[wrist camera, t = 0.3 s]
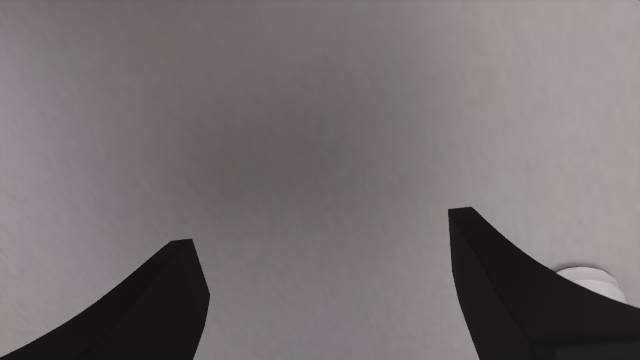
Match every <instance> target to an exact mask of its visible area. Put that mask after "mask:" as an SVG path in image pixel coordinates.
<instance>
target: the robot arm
mask: <svg viewBox="0 0 640 360" xmlns="http://www.w3.org/2000/svg"><path fill="white" fill-rule="evenodd" d="M448 217H449V232H450V247H451V261H452V273H453V277H454V282H455V287H456V291H457V295H458V300H459V304H460V306H461V309H462V312H463V315H464V318H465V321H466V323H467V326H468V329H469V332H470V334H471V337H472V340H473V343H474V346H475V348H476V351H477V354H478V357H479V359H480V360H640V308H637V307H634V306H631V305H628V304H625V303H622V302H620V301H617V300H614V299H611V298H609V297H606V296H604V295H601V294H599V293H596V292H594V291H592V290H589V289H587V288H585V287H583V286H581V285H579V284H576V283H574V282H572V281H570V280H568V279H566V278H565V277H563V276H561V275H559V274H557V273H556V272H554V271H552V270H550V269H549V268H547V267H545V266H544V265H542V264H540V263H539V262H537V261H536V260H534V259H533V258H531V257H530V256H529V255H527V254H526V253H524V252H523V251H522V250H520V249H519V248H518V247H516V246H515V245H514V244H513V243H511V242H510V241H509V240H508V239H507V238H505V237H504V236H503V235H502V234H501V233H499V232H498V231H497V230H496V229H495V228H494V227H493V226H492V225H491V224H489V223H488V222H487V221H486V220H485V219H484V218H483V217H482V216H481V215H480V214H479V213H478V212H477V211H476V210H475V209H473V208H472V207H463V208H455V209H448ZM209 300H210V293H209V290H208V286H207V283H206V280H205V277H204V274H203V271H202V268H201V265H200V262H199V259H198V255H197V252H196V249H195V246H194V243H193V240H192V239H183V240H175V241H171V242H169V243H168V244H167V245H165V246H164V247H163V248H161V249H160V250H159V251H158V252H157V253H155V254H154V255H153V256H152V257H151V258H149V259H148V260H147V261H146V262H145V263H144V264H142V265H141V266H140V267H139V268H138V269H137V270H135V271H134V272H133V273H132V274H131V275H129V276H128V277H127V278H126V279H125V280H123V281H122V282H121V283H120V284H118V285H117V286H116V287H115V288H113V289H112V290H111V291H109V292H108V293H107V294H106V295H104V296H103V297H102V298H101V299H99V300H98V301H97V302H95V303H94V304H93V305H91V306H90V307H88V308H87V309H85V310H84V311H83V312H81V313H80V314H78V315H77V316H75V317H73V318H72V319H70V320H69V321H67V322H66V323H64V324H63V325H61V326H59V327H57V328H56V329H54V330H52V331H50V332H49V333H47V334H45V335H43V336H42V337H40V338H38V339H36V340H34V341H33V342H31V343H29V344H27V345H25V346H23V347H21V348H19V349H17V350H15V351H13V352H11V353H9V354H7V355H5V356H3V357H0V360H193V358H194V356H195V353H196V350H197V347H198V344H199V341H200V338H201V335H202V332H203V329H204V326H205V321H206V316H207V312H208V306H209Z"/></svg>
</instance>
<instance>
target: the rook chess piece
mask: <svg viewBox="0 0 640 360" xmlns="http://www.w3.org/2000/svg"><path fill="white" fill-rule="evenodd" d="M556 273H557V274H559V275H561V276H563V277H565V278H566V279H568V280H570V281H572V282H574V283H576V284H579V285H581V286H583V287H585V288H587V289H589V290H592V291H594V292H596V293H599V294H601V295H604V296H606V297H609V298H611V299H614V300H617V301H620V302H622V303H625V304H628V305H629V303H628V301H627V299H626V297H625V295H624V293H623V291H622V290H621V288H620V286H619V284H618V282H617V280H616V279H615V278H613V277H612V276H610V275H609V274H608V273H606V272H605V271H603V270H598V269H593V268H588V267H573V268H565V269H563V270H560V271H558V272H556Z"/></svg>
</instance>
